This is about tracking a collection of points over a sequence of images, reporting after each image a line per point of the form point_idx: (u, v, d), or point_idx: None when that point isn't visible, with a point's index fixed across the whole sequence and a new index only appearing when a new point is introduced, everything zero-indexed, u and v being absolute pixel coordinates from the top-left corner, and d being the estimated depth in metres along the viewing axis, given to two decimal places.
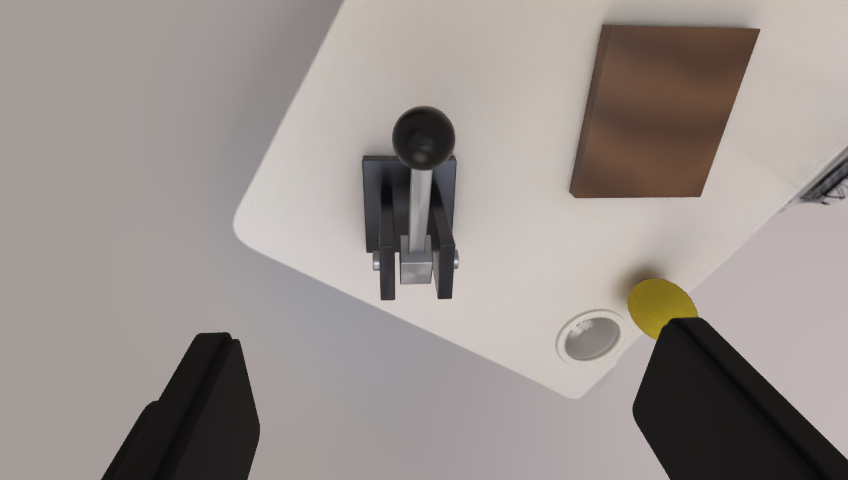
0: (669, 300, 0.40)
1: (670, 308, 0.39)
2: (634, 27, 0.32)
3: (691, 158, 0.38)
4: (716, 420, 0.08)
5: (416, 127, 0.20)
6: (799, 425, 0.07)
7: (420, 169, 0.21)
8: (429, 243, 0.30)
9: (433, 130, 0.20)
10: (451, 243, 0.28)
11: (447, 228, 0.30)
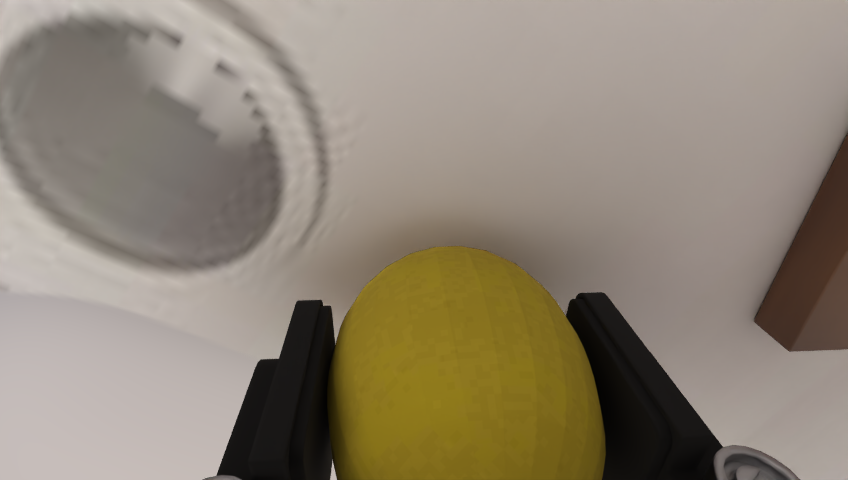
0: (601, 414, 0.08)
1: (598, 442, 0.07)
2: None
3: None
4: (602, 382, 0.08)
5: None
6: (661, 382, 0.07)
7: None
8: None
9: None
10: None
11: None
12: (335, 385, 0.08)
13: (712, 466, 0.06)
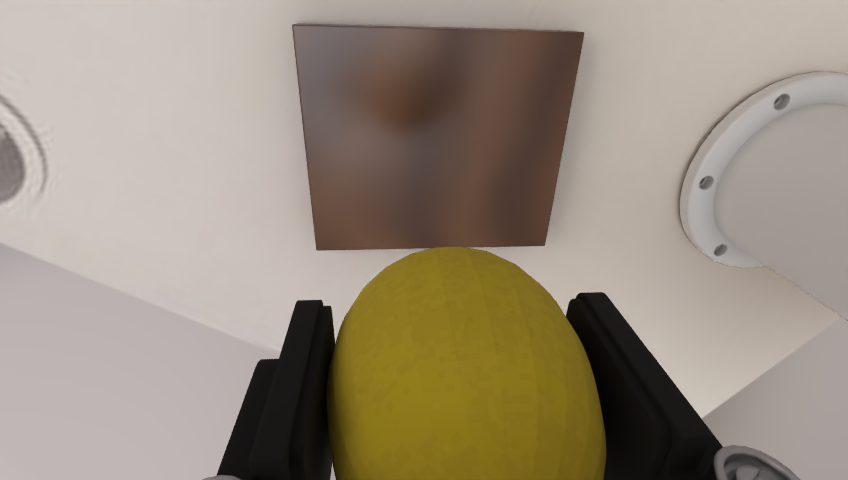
0: None
1: (599, 443, 0.07)
2: (575, 72, 0.22)
3: (378, 217, 0.25)
4: (602, 382, 0.08)
5: None
6: (661, 381, 0.07)
7: None
8: None
9: None
10: None
11: None
12: (334, 386, 0.08)
13: (712, 466, 0.06)
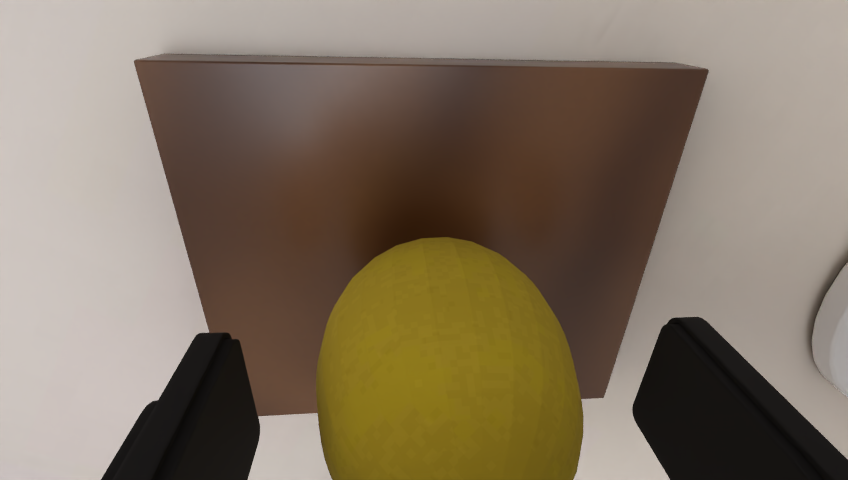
0: (579, 395, 0.08)
1: (575, 420, 0.07)
2: (683, 140, 0.12)
3: None
4: (716, 420, 0.08)
5: None
6: (799, 425, 0.07)
7: None
8: None
9: None
10: None
11: None
12: (323, 369, 0.08)
13: None
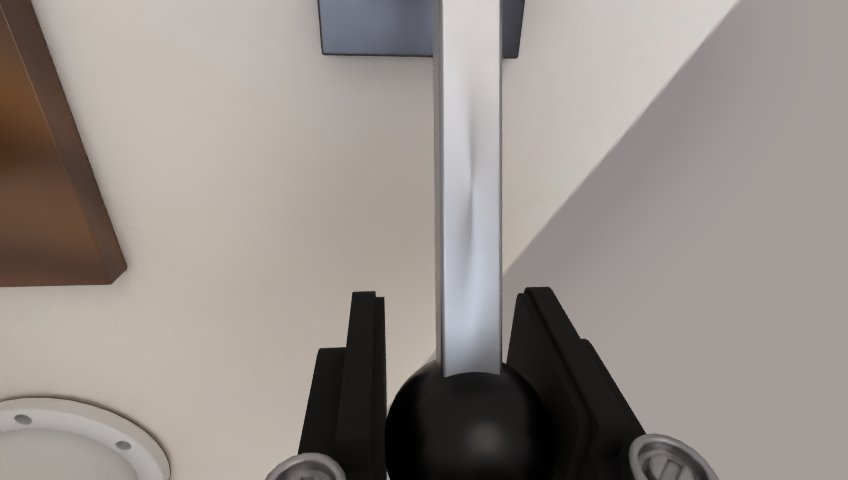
0: None
1: None
2: (70, 284, 0.21)
3: None
4: (540, 374, 0.09)
5: None
6: (589, 372, 0.08)
7: (495, 435, 0.07)
8: None
9: None
10: None
11: None
12: None
13: (627, 453, 0.07)
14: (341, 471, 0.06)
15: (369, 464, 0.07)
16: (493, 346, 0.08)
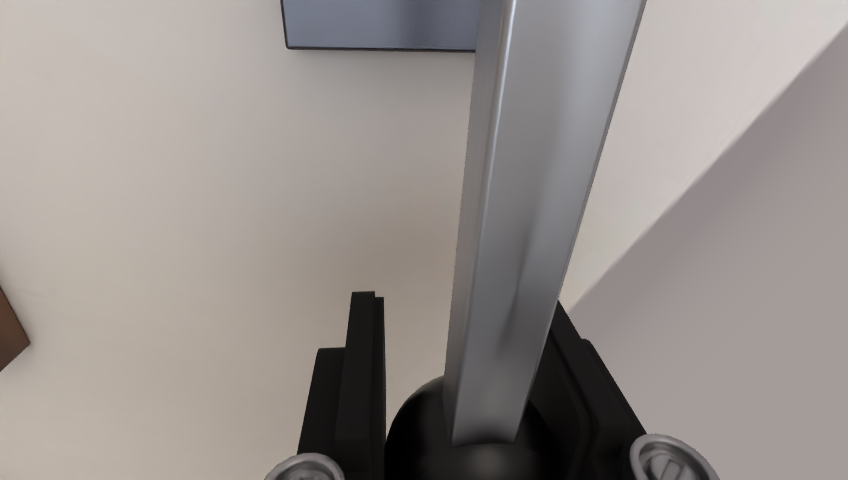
0: None
1: None
2: None
3: None
4: (540, 374, 0.09)
5: None
6: (590, 372, 0.08)
7: None
8: None
9: None
10: None
11: None
12: None
13: (628, 453, 0.07)
14: (340, 471, 0.06)
15: (368, 464, 0.07)
16: (511, 426, 0.06)
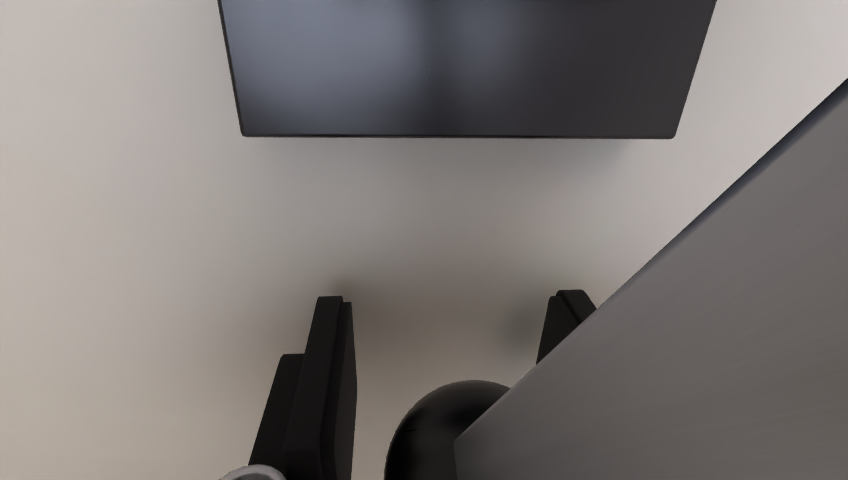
0: None
1: None
2: None
3: None
4: None
5: None
6: None
7: None
8: None
9: None
10: None
11: None
12: None
13: None
14: None
15: (319, 476, 0.06)
16: None
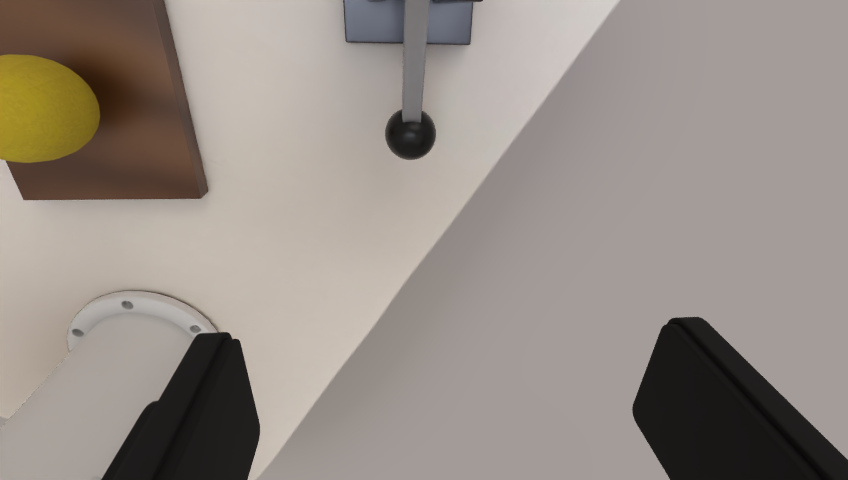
0: (44, 159, 0.23)
1: (36, 156, 0.22)
2: (174, 197, 0.31)
3: None
4: (716, 420, 0.08)
5: None
6: (799, 425, 0.07)
7: (415, 140, 0.26)
8: None
9: None
10: None
11: None
12: (21, 63, 0.22)
13: None
14: None
15: None
16: (418, 116, 0.25)
